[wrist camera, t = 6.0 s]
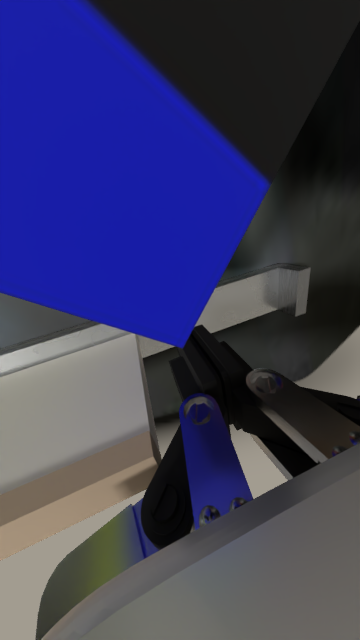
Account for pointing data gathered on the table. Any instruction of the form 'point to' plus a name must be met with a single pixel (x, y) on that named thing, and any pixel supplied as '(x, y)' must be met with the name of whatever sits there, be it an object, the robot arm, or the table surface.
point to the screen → (73, 440)
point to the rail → (220, 312)
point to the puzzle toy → (147, 144)
